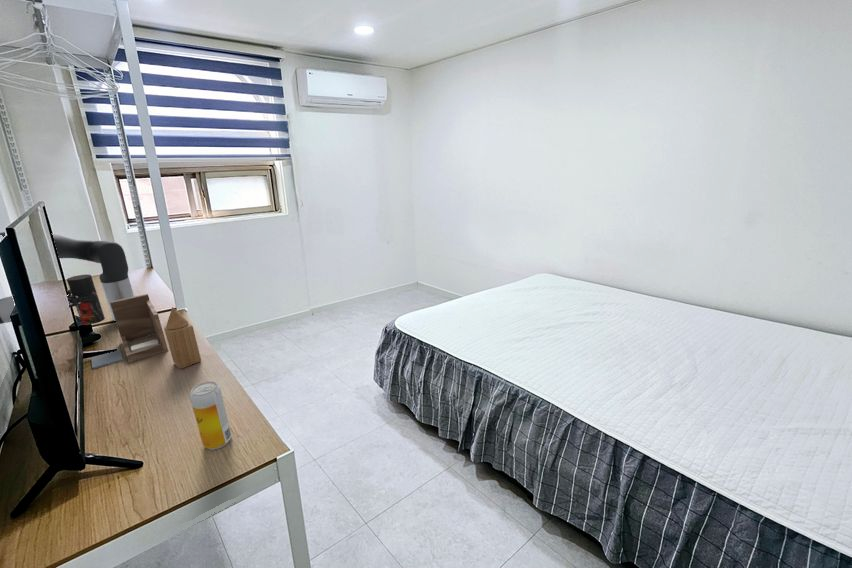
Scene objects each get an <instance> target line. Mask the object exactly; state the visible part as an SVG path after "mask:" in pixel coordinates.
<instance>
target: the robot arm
mask: <svg viewBox="0 0 852 568" xmlns="http://www.w3.org/2000/svg"><path fill="white" fill-rule="evenodd" d="M5 232H6V231H3V232H2V231H1V232H0V235H2V236H3V237H4V236H5ZM51 234H52V235H53V238H54V241H55V245H56V248H57V252H58V256H59V258H58V259H75V260H82V261H88V262H93V263H97V264H101V265H100V266H101V269H102V273H101V274H99V281H100V283H101V287H102V290H103V292H104V296H105V299H106V301H107V306H108V309H109V311H110V314H111V318H112V320H114V321H116V320H115V317H114V314H113V311H112V308H111V305H110V302H111V301H116V300H120V299H125V298H130V297H134V296H135V294H134V290H133V287H132V284H131V280H130V278H129V266H128V265H129V264H128V261H127V257H126V252H125V250H124V248H123V247H122V245H120V243H117V242H115V241H111V240H110V241H109V240H108V241H107V240H84V239H83V240H82V239H74V238H70V237H66V236H63V235H61V234H60V235H59V234H55V233H51ZM66 290H67V292H68V295H67V296H68V301H69V303H70V305H69V308H72V307H76V306H78V304H80V303H81V302H86V301H91V300H95V299H96V296H95V293H88V294H83V295H79V296H78V295H76V296H72V294H71V291H70V289H66ZM12 296H13V295H11V296H7V297H2V298H0V324H1V325H2V324H7V323H12V322H11V320H10V314H11V312H12V310H13V308H14V301H13V298H12ZM114 321H113V322H114Z"/></svg>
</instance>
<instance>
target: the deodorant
mask: <svg viewBox="0 0 852 568" xmlns="http://www.w3.org/2000/svg"><path fill="white" fill-rule="evenodd" d="M66 281H67V284H68V288H69V290H70V291H71V295H72V296H76V295H78V296H79V295H83V294H88V293H95V296H96V299H95V300H91V301H86V302H81V303H80V304H78V306H75V309H76V311H77V313H78V317H79V320H80V322H81V325H83V326H84V325H85V326H88V325H94V324H97V323H100V322H102V321H104V320H105V319H106V318H105V314H104V311H103V308H102V306H101V302H100V299H99V296H98V293H97V289H96V286H95V283H94V279H93V277H92V275H91V274H79V275H73V276H70V277H68V278H66Z"/></svg>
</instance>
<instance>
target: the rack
mask: <svg viewBox="0 0 852 568" xmlns="http://www.w3.org/2000/svg"><path fill="white" fill-rule="evenodd" d="M110 305H111V308H112V311H113V314H114V317H115V320H116V322H115V323H116V327H117V329H118V332H119V334H120V335H119V336H120V338H121V342H122V345H123V349H124V352H125V354H126V355H125V356H126V358H127V361H128V363H131V362H135V361H137V360H141V359H145V358H148V357H151V356H154V355H155V356H156V355H158V354H162V353H165V352H168V351H169V349H168V345H167V344H168V343H167V341H166V336H165V334H164V331H163V327H162V323H161V320H160V317H159V313H158V312H157V310H156V309H155V306H154V305H153V303H152V302H151V300H150V296H149V294H148V293H145V294H140V295H134V297H130V298H125V299H120V300H116V301H111V302H110ZM152 336H156V339H157V340H158V343H159V344H160V345H156V346H153V347H149V348H146V349H142V350H139V351H135V352H132V351H131V349H130V348H129V342H132V341H136V340H140V339H143V338H147V337H152Z"/></svg>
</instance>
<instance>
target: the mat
mask: <svg viewBox="0 0 852 568" xmlns="http://www.w3.org/2000/svg"><path fill="white" fill-rule="evenodd" d="M122 355H123V354H122V351H121V349H118V350H114V352H113V351H110V353H109V352H107V353H103V354H99V355H95V356H92V357H90V360H91V368H92V370H95V369H98V368H101V367H102V368H103V367H106V366H109V365H112V364H116V363H118V362H122V361H124V359H123V356H122Z"/></svg>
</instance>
